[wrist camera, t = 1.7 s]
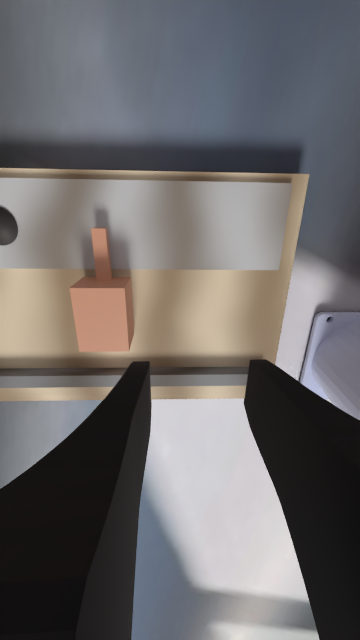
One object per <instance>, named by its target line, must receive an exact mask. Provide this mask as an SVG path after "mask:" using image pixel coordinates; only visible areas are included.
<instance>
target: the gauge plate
mask: <svg viewBox="0 0 360 640" xmlns="http://www.w3.org/2000/svg"><path fill="white" fill-rule="evenodd" d="M308 179H309V174H281V173H230V172H179V171H129V170H78V169H27V168H0V401H46V400H104V399H105V397H106V396H107V395H108V394H109V392H110V391H111V390H112V389H113V387H114V386H115V385H116V384H117V382H118V381H119V380H120V378H121V377H122V375H123V374H124V373H125V371H126V370H127V368H128V367H129V365H130V364H131V363H132V362H133V361H150V382H151V399H221V398H245V391H246V384H247V377H248V370H249V363H250V360H256V359H266V360H268V361H270V362H271V363H273V364H274V365H275V361H276V356H277V350H278V344H279V339H280V333H281V328H282V322H283V317H284V311H285V306H286V300H287V295H288V289H289V284H290V278H291V273H292V267H293V262H294V256H295V251H296V245H297V240H298V234H299V228H300V223H301V217H302V212H303V206H304V201H305V195H306V190H307V184H308ZM91 228H108V237H109V249H110V260H111V271H112V277H131V289H132V306H133V322H134V336H133V339H132V343H131V346H130V350H129V351H121V352H79V346H78V340H77V333H76V327H75V320H74V314H73V307H72V301H71V295H70V287H71V286H73V285H74V284H75V283H76V282H77V281H79V280H80V279H81V278H82V277H96V270H95V261H94V252H93V243H92V235H91Z"/></svg>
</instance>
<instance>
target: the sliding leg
mask: <svg viewBox="0 0 360 640" xmlns="http://www.w3.org/2000/svg"><path fill="white" fill-rule="evenodd" d="M91 235H92V243H93V252H94V261H95V270H96V277H82V278H81V279H80V280H79V281H77V282H76V283H75V284H74V285H73V286H71V287H70V295H71V301H72V307H73V314H74V320H75V327H76V333H77V340H78V346H79V352H121V351H129V350H130V346H131V343H132V339H133V336H134V322H133V306H132V289H131V277H112V271H111V260H110V249H109V237H108V228H91Z"/></svg>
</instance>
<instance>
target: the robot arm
mask: <svg viewBox="0 0 360 640" xmlns="http://www.w3.org/2000/svg"><path fill="white" fill-rule="evenodd" d="M328 317H330V320H328V321H326V320H327V318H328ZM325 399H329V400H330V401H331V402H332V403H333V404H331V403H330V402H328V401H327V400H325ZM244 406H245V410H246V414H247V418H248V421H249V425H250V428H251V431H252V433H253V436H254V438H255V441H256V443H257V446H258V448H259V451H260V453H261V455H262V458H263V460H264V463H265V465H266V468H267V470H268V472H269V475H270V477H271V480H272V482H273V484H274V487H275V489H276V492H277V495H278V497H279V500H280V503H281V506H282V509H283V512H284V515H285V519H286V522H287V525H288V528H289V532H290V535H291V538H292V541H293V545H294V548H295V552H296V555H297V559H298V562H299V565H300V569H301V572H302V576H303V579H304V583H305V587H306V590H307V594H308V598H309V601H310V605H311V609H312V613H313V616H314V620H315V624H316V627H317V631H318V635H319V639H320V640H360V312H320V313H318V314H317V315H316V316H315V318H314V322H313V327H312V331H311V335H310V340H309V344H308V348H307V353H306V357H305V361H304V366H303V370H302V374H301V379H300V382H298V381H297V380H295V379H294V378H293V377H291V376H290V375H288V374H287V373H286V372H284V371H283V370H281V369H280V368H279V367H277V366H276V365H274V364H273V363H271V362H270V361H268V360H266V359H256V360H250V363H249V370H248V377H247V384H246V391H245V399H244ZM150 426H151V382H150V361H133V362H132V363H131V364H130V365H129V367H128V368H127V370H126V371H125V373H124V374H123V375H122V377H121V378H120V380H119V381H118V382H117V384H116V385H115V386H114V387H113V389H112V390H111V391H110V392H109V394H108V395H107V396H106V397H105V399H104V400H103V401H102V402H101V403H100V404H99V405H98V406H97V408H96V409H95V410H94V411H93V412H92V413H91V414H90V415H89V416H88V417H87V418H86V419H85V420H84V421H83V422H82V423H81V424H80V425H79V426H78V427H77V428H76V429H75V430H74V431H73V432H72V433H71V434H70V435H69V436H68V437H67V438H66V439H65V440H63V441H62V442H61V443H60V444H59V445H58V446H56V447H55V448H54V449H53V450H52V451H50V452H49V453H48V454H47V455H46V456H44V457H43V458H42V459H41V460H39V461H38V462H37V463H36V464H34V465H33V466H32V467H31V468H29V469H28V470H27V471H25V472H24V473H22V474H21V475H20V476H18V477H17V478H16V479H14V480H13V481H11V482H10V483H9V484H7V485H6V486H4V487H3V488H1V489H0V640H131V632H132V614H133V597H134V580H135V564H136V548H137V532H138V517H139V506H140V497H141V490H142V483H143V476H144V470H145V463H146V457H147V450H148V443H149V437H150Z"/></svg>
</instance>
